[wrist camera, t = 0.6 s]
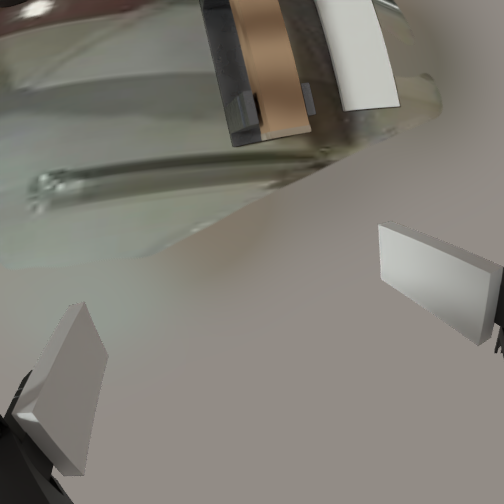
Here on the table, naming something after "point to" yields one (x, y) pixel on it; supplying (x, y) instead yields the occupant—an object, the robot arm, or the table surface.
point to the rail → (270, 68)
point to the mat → (358, 54)
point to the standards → (235, 74)
